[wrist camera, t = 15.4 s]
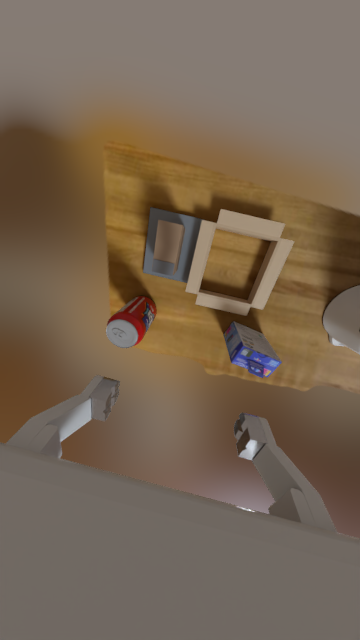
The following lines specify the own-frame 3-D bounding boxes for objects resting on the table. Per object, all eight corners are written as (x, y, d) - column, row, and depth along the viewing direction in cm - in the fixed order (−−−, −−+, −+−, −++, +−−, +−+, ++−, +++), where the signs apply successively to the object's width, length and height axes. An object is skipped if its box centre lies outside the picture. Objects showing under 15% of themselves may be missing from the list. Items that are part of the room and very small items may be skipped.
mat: (204, 220, 36) (204, 219, 35) (189, 282, 42) (189, 283, 41) (151, 208, 36) (150, 207, 35) (144, 272, 42) (143, 272, 41)
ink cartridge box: (222, 335, 48) (231, 370, 35) (232, 319, 45) (246, 350, 32) (252, 348, 49) (272, 386, 35) (263, 333, 46) (289, 368, 33)
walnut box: (185, 229, 36) (182, 225, 29) (177, 270, 40) (173, 276, 33) (166, 224, 36) (158, 219, 29) (159, 266, 40) (151, 271, 33)
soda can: (135, 289, 44) (108, 309, 31) (161, 303, 45) (146, 327, 32) (126, 313, 48) (98, 341, 34) (151, 325, 48) (133, 356, 35)
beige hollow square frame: (291, 229, 35) (300, 227, 32) (254, 313, 44) (258, 318, 41) (204, 208, 35) (205, 205, 32) (184, 297, 44) (183, 301, 41)
